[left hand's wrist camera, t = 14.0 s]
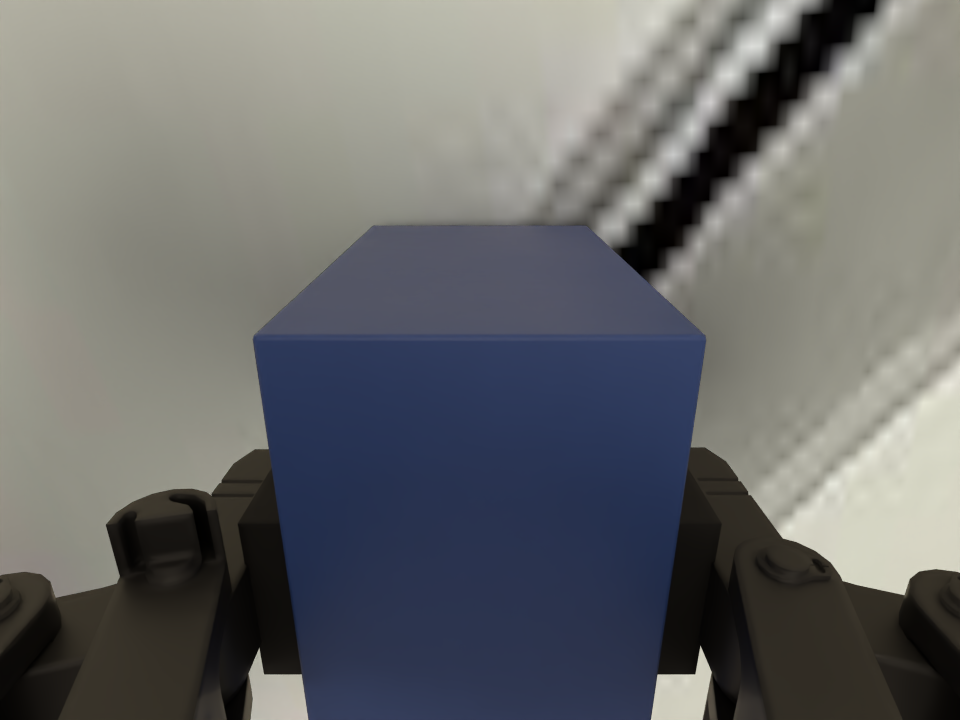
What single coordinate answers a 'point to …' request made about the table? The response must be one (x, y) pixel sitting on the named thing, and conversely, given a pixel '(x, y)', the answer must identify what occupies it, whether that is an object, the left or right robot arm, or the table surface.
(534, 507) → the brick
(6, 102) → the table surface
